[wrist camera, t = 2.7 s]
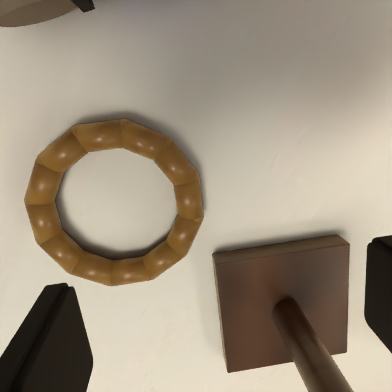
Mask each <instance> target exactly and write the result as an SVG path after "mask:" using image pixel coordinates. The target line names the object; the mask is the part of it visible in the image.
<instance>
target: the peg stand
mask: <svg viewBox="0 0 392 392" xmlns="http://www.w3.org/2000/svg"><path fill="white" fill-rule="evenodd" d="M349 249H350V244H349V243H348V242H347V241H346V240H344V239H343V238H342V237H341V236H340V235H334V236H327V237H321V238H314V239H308V240H301V241H295V242H288V243H281V244H275V245H268V246H262V247H255V248H249V249H242V250H236V251H229V252H223V253H216V254H212V258H213V266H214V275H215V284H216V292H217V301H218V309H219V318H220V327H221V335H222V344H223V352H224V359H225V364H226V368H227V372H228V373H231V372H237V371H243V370H248V369H254V368H260V367H266V366H272V365H277V364H283V363H289V362H294V363H295V365H296V367H297V369H298V371H299V373H300V375H301V377H302V379H303V381H304V384H305V386H306V388H307V390H308V392H354V391H353V390H352V388H351V387H350V385H349V384H348V382H347V380H346V379H345V377H344V376H343V374H342V373H341V371H340V369H339V368H338V366H337V365H336V363H335V361H334V360H333V358H332V357H331V355H335V354H341V353H346V352H347V326H348V287H349Z"/></svg>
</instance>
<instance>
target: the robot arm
mask: <svg viewBox="0 0 392 392" xmlns="http://www.w3.org/2000/svg"><path fill="white" fill-rule="evenodd" d="M364 316H365V320H366V322H367V324H368V326H369V327H370V328H371V329H372V330H373V332H374V333H375V334H376V335H377V336H378V338H379V339H380V340H381V341H382V342H383V343H384V345H385V346H386V347H387V348H388V349H389V351H390V352H391V353H392V235H390V236H383V237H376V238H374V239H373V240H372V243H369V244H368V246H367V262H366V285H365V307H364ZM92 368H93V356H92V352H91V348H90V344H89V340H88V337H87V333H86V329H85V325H84V322H83V318H82V314H81V311H80V307H79V303H78V299H77V296H76V292H75V289H74V287H69V286H68V285H67V283H60V284H53V285H47V286H45V287H44V289H43V291H42V292H41V294H40V295H39V297H38V299H37V300H36V302H35V303H34V305H33V307H32V308H31V310H30V311H29V313H28V315H27V316H26V318H25V319H24V321H23V322H22V324H21V326H20V327H19V329H18V330H17V332H16V334H15V335H14V337H13V338H12V340H11V341H10V343H9V345H8V346H7V348H6V349H5V351H4V353H3V354H2V356H1V357H0V392H86V390H87V387H88V383H89V379H90V376H91V372H92Z"/></svg>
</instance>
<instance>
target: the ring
mask: <svg viewBox="0 0 392 392" xmlns="http://www.w3.org/2000/svg"><path fill="white" fill-rule="evenodd" d="M116 148H124V149H127V150H129V151H132V152H134V153H137V154H139V155H142V156H144V157H147V158H149V159H152V160H154V161H155V163H156V164H157V165H158V166H159V167H160V169H161V170H162V171H163V172H164V174H165V175H166V176H167V177H168V178H169V180H170V181H171V182H172V183H173V185H174V191H175V197H176V204H177V211H178V214H177V217H176V219H175V221H174V224H173V226H172V228H171V231H170V233H169V235H168V237H167V239H166V240H165V241H164V242H162V243H161V244H159V245H158V246H157V247H155V248H154V249H153V250H151V251H150V252H149V253H147V254H146V255H145V256H141V257H135V258H128V259H121V260H115V261H113V260H110V259H107V258H104V257H101V256H98V255H95V254H92V253H88V252H85V251H83V250H82V249H81V248H80V247H79V246H78V245H77V244H76V242H75V241H74V240H73V239H72V238H71V237H70V236H69V235H68V234H67V233H66V232H65V231H64V230H63V229H62V226H61V223H60V219H59V215H58V211H57V207H56V204H55V197H56V194H57V191H58V188H59V185H60V182H61V179H62V176H63V173H64V171H66V170H67V169H68V168H69V167H71V166H72V165H73V164H74V163H76V162H77V161H78V160H79V159H81V158H82V157H83V156H84V155H86V154H87V153H88V152H94V151H101V150H109V149H116ZM24 202H25V206H26V209H27V213H28V216H29V219H30V223H31V226H32V229H33V233H34V236H35V240H36V242H37V244H38V245H39V246H40V247H41V248H42V249H43V250H44V251H45V252H46V253H47V254H48V255H50V256H51V257H52V258H53V259H54V260H55V261H56V262H57V263H58V264H59V265H60V266H61V267H62V268H63V269H64V270H65V271H66V272H67V273H69V274H71V275H74V276H78V277H81V278H84V279H88V280H91V281H94V282H97V283H101V284H104V285H107V286H117V285H123V284H130V283H136V282H143V281H149V280H153V279H155V278H156V277H157V276H159V275H160V274H162V273H163V272H164V271H166V270H167V269H169V268H170V267H171V266H173V265H174V264H175V263H177V262H178V261H180V260H181V259H182V258H184V257H185V256H186V255H187V253H188V251H189V249H190V247H191V245H192V243H193V240H194V238H195V236H196V234H197V232H198V229H199V227H200V225H201V223H202V221H203V217H204V213H203V205H202V197H201V188H200V180H199V175H198V173H197V171H196V170H195V169H194V167H193V166H192V165H191V163H190V162H189V161H188V160H187V158H186V157H185V156H184V154H183V153H182V152H181V151H180V149H179V148H178V147H177V145H176V144H175V143H174V142H173V140H172V139H171V138H170V137H168V136H166V135H163V134H161V133H159V132H156V131H154V130H151V129H149V128H146V127H144V126H142V125H139V124H137V123H134V122H132V121H129V120H127V119H117V120H110V121H102V122H94V123H86V124H79V125H75V126H73V127H72V128H71V129H69V130H68V131H67V132H66V133H64V134H63V135H62V136H61V137H59V138H58V139H57V140H56V141H55V142H53V143H52V144H51V145H50V146H48V147H47V148H46V149H45V150H44V151H42V152H41V153H40V154H39V155H38V156H37V158H36V161H35V164H34V168H33V171H32V174H31V178H30V181H29V184H28V188H27V191H26V194H25V198H24Z"/></svg>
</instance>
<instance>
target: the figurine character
mask: <svg viewBox="0 0 392 392" xmlns="http://www.w3.org/2000/svg"><path fill="white" fill-rule="evenodd" d="M77 6H78V7H79V8H80V9H81V10H82V11H83V12H87V11H90V10H93V9H95V7H94V4H93V1H92V0H0V26H2V27H18V26H26V25H31V24H36V23H40V22H44V21H47V20H50V19H53V18H56V17H59V16H61V15H64V14H66V13H68V12H70V11H72V10H73V9H75V8H76V7H77Z"/></svg>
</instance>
